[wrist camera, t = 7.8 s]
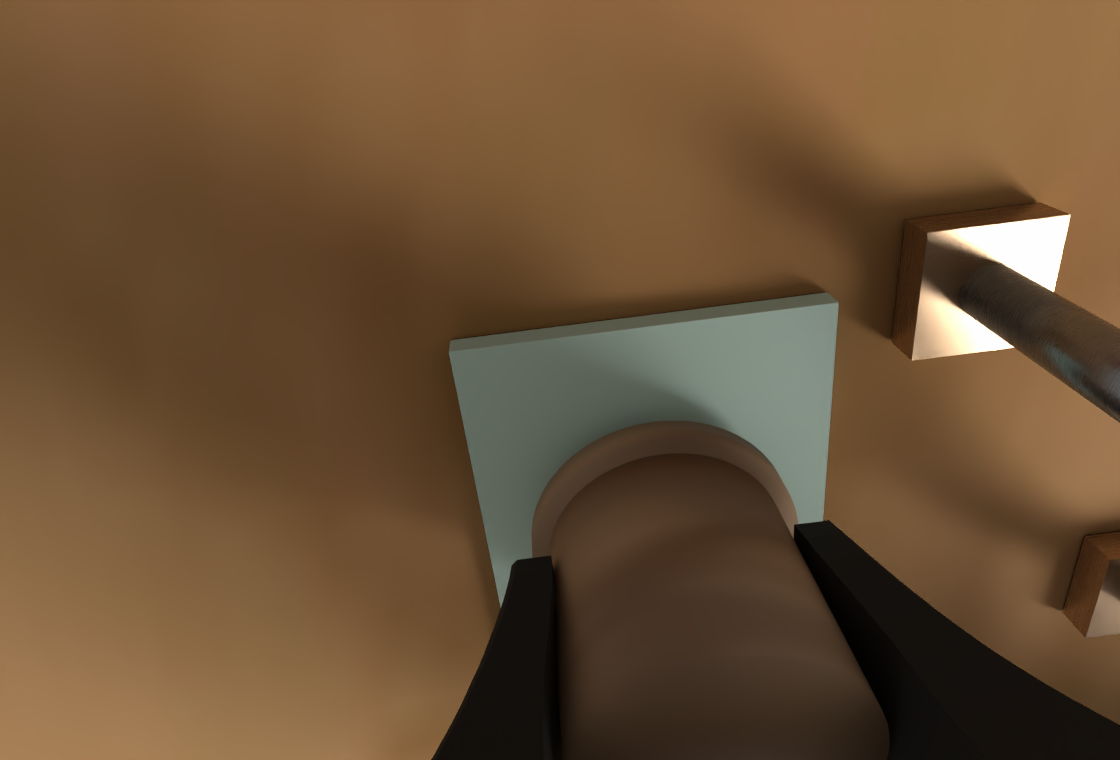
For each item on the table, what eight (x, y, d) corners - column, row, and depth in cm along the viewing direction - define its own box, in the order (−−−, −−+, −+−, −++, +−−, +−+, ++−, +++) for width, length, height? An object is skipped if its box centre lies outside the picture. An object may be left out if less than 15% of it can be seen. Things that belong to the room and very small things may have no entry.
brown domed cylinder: (792, 404, 13) (935, 613, 9) (783, 608, 16) (892, 854, 11) (514, 439, 13) (516, 666, 9) (547, 638, 16) (563, 896, 11)
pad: (828, 292, 14) (838, 302, 13) (807, 608, 17) (815, 625, 17) (450, 340, 14) (448, 352, 13) (512, 646, 17) (511, 663, 17)
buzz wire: (1321, 166, 13) (1949, 304, 7) (1071, 839, 23) (1260, 1125, 17) (905, 219, 13) (1212, 398, 7) (832, 870, 23) (941, 1166, 17)
